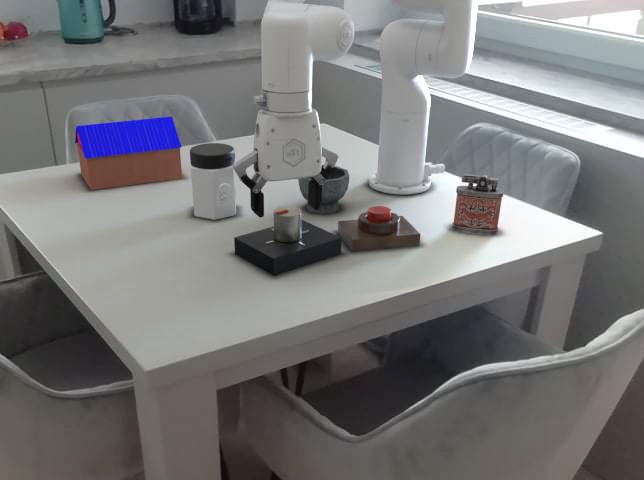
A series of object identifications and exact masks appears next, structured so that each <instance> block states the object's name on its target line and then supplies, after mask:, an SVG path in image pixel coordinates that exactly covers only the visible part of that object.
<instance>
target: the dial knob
mask: <svg viewBox="0 0 644 480" xmlns="http://www.w3.org/2000/svg"><path fill="white" fill-rule="evenodd" d="M302 220H303V211H302V209H301V208H300V207H297V206H290V205H289V206H280V207H276V208H274V210H273V226H274V239H275V240H277V241H280V242H295V241H298V240H300V239H301V238H302Z"/></svg>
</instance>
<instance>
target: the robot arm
mask: <svg viewBox="0 0 644 480" xmlns="http://www.w3.org/2000/svg"><path fill="white" fill-rule="evenodd" d="M305 1H306V0H267V3H266V4H265V5H266V6H265V8H264V11H263V16H262V18H261V22H260V50H261V51H260V54H261V64H260V65H261V89H260V93H259V94H257V95H253V97H252V103H253V105H254V106H259V107H260V108H261V109H259V110H258V112H257V116H256V121H255V128H254V134H253V150H252V151H251V152H250V153H248V154H247V155H244V156H243V157H242V158H241V159H239V160H237V161H235V163H234V165H233V168H234V170H235V175H237V177H238V179H239V181H240V182H242V184H244V185H245V186H246V187H247V188H248V189H249V193H250V196H249V197H250V209H251V211H252V212H253V213H254V214H255V215H256V216H257V217H258V218H260V219H261V218H263V217H265V194H264V192H263V191H262V190H263V188H264V186H265V185H266V184H267V183H268V182H283V181H290V180H292V181H293V180H298V179H300V178H307V177H311V178H312V179H311V181H309V183H308V201H307V202H308V204H309V205H310V206H311V207H313V208H314V209H315V210H319V209H320V202H321V201H322V185H324V184H325V180H326V179H327V178H328V176H329V175H330V174H331V173H332V171H333V167H334V166H336V163H337V162H338V159H339V155H338V154H337V153H335V152H334V151H331V150H329V149H328V148H325V147H323V146H322V135H321V125H320V120H319V113H318V110H317V109H315V108H313V68H314V67H313V64H314V62H316V61H317V62H318V61H323V62H324V61H325V62H327V61H328V62H329V61H335V60H338V59H340V58H342V57H343V56H345V55H346V54H347V53H348V52H349V50H350V49H351V47H352V45H353V43H354V40H355V25H354V24H355V23H354V21H353V19H352V16H350V14H349V13H348V12H347V11H346V10H344V9H342V8H340V7H337V6H332V5H323V4H322V5H321V4H313V3H312V4H311V3H304V2H305ZM390 2H391V3H392V5H393V7H394V8H396V9H397V10H400V11H404V12H410V13H421V14H433V15H434V14H435V15H437V14H438V15H442V16H443V18H444V21H439V20H430V19H419V18H418V19H416V18H401V19H396V20H393V21H391V22H389V23H388V24H387V25H386V26H385V27H384V28H383V30H382V32H381V34H380V37H379V45H378V46H379V47H378V49H379V59H380V68H381V69H380V70H381V102H380V120H379V135H378V136H379V137H378V138H379V139H378V151H377V153H378V154H377V170H376V173H374V174H373V175H371V176H370V177H369V181H368V184H369V186H370V188H372V189H373V190H375V191H378V192H381V193H384V194H388V195H389V194H390V195H401V196H402V195H403V196H405V195H414V194H415V195H416V194H420V193H424V192H426V191H428V190H429V189H430V188H431V183H432V182H431V179H430V178H429V177H431V176H432V175H434V174H435V175H438V174H444V173H445V171H446V165H445V164H444V163H436V164H433V162H431V161H430V162H426V155H427V143H428V132H429V121H430V112H431V111H430V110H431V94H430V89H429V88H428V87H429V86H428V85H427V82H426V80H425V78H424V77H425V76H426V77H433V78H441V79H457V78H460V77H462V76H464V75H466V73H467V72H468V70H469V68H470V65H471V63H472V58H473V53H474V47H475V46H474V45H475V37H476V36H475V35H476V26H477V14H478V6H479V5H478V4H479V0H390ZM423 76H424V77H423ZM323 158H325V161H324V164H323ZM322 165H323V166H322ZM251 166H252V167H253V171H254V173H253V175H252V176H251V177H249V175H248V173H247V169H248V168H250V167H251Z"/></svg>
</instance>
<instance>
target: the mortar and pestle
mask: <svg viewBox="0 0 644 480" xmlns="http://www.w3.org/2000/svg"><path fill="white" fill-rule="evenodd" d="M323 165H324V164H322V166H323ZM311 179H312V178H311V177H307V178H300V179H297V181H298V187H299V191H300V193H301V196H302V197H303V198H304V199H305V200H306V201H307V202H306V208H307V209H306V210H307V211H309V212H311V213H314V214H322V215H323V214H325V215H326V214H331V213H335V212H337V211H338V210H340V207H339V201H340V200H341V199H342V198H344V197H345V195H346V193H347V191H348V188H349V184H350V173H349V171H348V169H347V168H343V167H340V166H337V165H335V166H334V167H333V171H332V173H331V174H330V175H329V176H328V178H327V179H326V180H325V184H324V185H322V201H321V202H320V209H319V210H315V209H314V208H313V207H311V206H310V205H309V204H308V183H309V181H311Z"/></svg>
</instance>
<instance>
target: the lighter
mask: <svg viewBox="0 0 644 480" xmlns="http://www.w3.org/2000/svg"><path fill="white" fill-rule="evenodd" d="M461 183H466V184H468V185H457V186H456V190H455V192H456V198H455V199H456V200H455V207H454V217H453V221H452V224H451V225H452V226H451V229H452V230H454V231H458V232H461V233H462V232H463V233H468V234H475V235H476V234H477V235H488V236H489V235H490V236H493V235H494V236H495V235H497V234H498V233H499V221H500V213H501V207H502V201H503V200H502V199H503V197H504V193H505V191H504V190H503V189H501V188H498V184H499V178H498V177H492V176H491V177H490V176H488V174H487V173H482V174H481V175H477V174H469V173H463V174H462V175H461ZM474 184H475V185H474Z"/></svg>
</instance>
